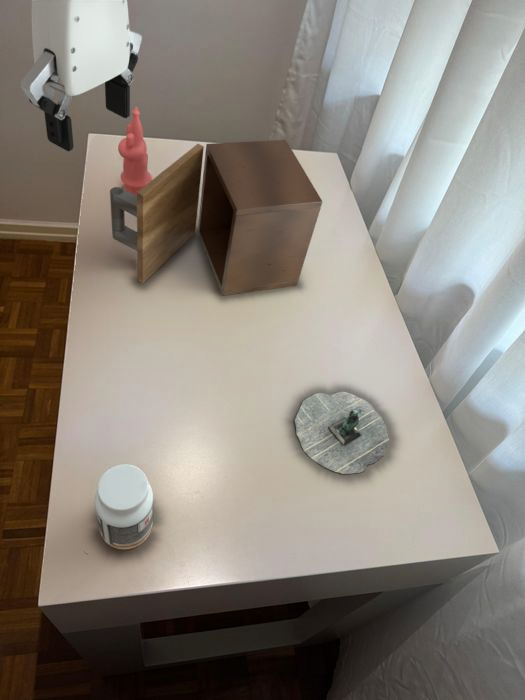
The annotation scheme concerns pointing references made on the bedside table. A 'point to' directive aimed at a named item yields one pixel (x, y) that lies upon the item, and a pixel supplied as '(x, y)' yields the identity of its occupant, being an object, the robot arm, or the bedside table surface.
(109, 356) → the bedside table surface
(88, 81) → the robot arm
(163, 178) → the door
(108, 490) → the pill bottle
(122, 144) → the figurine
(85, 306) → the bedside table surface
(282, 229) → the cabinet
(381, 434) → the sculpture
